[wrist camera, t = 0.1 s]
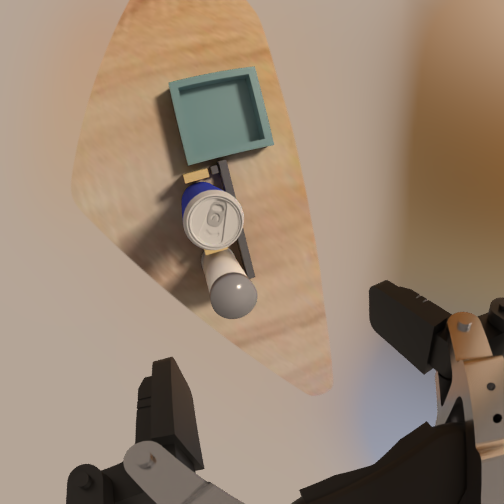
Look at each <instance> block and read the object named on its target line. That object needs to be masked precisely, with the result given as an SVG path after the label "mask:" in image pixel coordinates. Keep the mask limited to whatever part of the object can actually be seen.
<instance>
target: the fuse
mask: <svg viewBox="0 0 504 504" xmlns="http://www.w3.org/2000/svg"><path fill="white" fill-rule="evenodd" d="M201 265H202V269H203V271H204V274H205V278H206V282H207V285H208V289H209V293H210V300H211V304H212V307H213V309H214V311H215V312H216V313H217V314H218V315H220V316H222V317H224V318H227V319H237V318H241V317H243V316H245V315H247V314H248V313H249V312H251V310H252V309H253V308H254V306H255V304H256V302H257V290H256V288H255V286H254V284H253V283H252V281H251V280H250V279H249V278H248V277H247V275H246V274H245V272H244V271H243V269H242V268H241V266H240V264H239V263H238V261H237V260H236V258H235V255H234V254H233V252H232V251H231V249H230V248H229V247H228V249H226V250H222V251H219V252H216V253H212V254H209V255H206V254H205V251H204V252H203V253H202V256H201Z"/></svg>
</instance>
